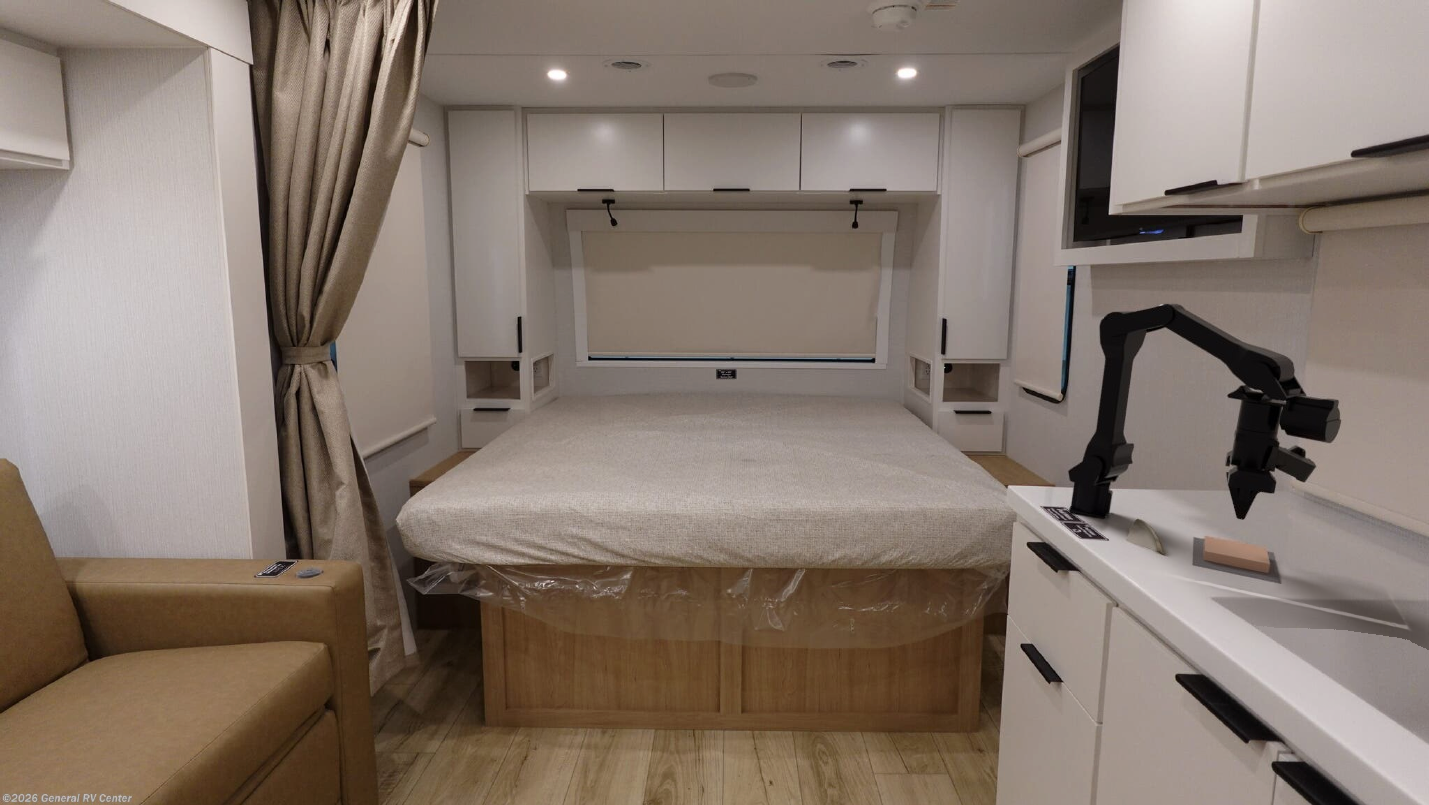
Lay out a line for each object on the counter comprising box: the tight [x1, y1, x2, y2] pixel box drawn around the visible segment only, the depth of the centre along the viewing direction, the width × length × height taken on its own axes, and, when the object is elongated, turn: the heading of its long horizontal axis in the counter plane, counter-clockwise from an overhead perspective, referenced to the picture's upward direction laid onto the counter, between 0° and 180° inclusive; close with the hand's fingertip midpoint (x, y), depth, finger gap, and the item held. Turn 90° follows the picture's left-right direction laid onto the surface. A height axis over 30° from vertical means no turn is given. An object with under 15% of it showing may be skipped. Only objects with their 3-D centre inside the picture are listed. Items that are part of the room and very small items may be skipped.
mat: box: [1192, 536, 1282, 585], centre depth 133 cm, size 12×16×1 cm
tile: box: [1203, 535, 1270, 573], centre depth 133 cm, size 9×2×9 cm
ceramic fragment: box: [1124, 518, 1165, 556], centre depth 140 cm, size 14×5×4 cm, turn 170°
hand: (1240, 518), depth 133 cm, fingers closed
